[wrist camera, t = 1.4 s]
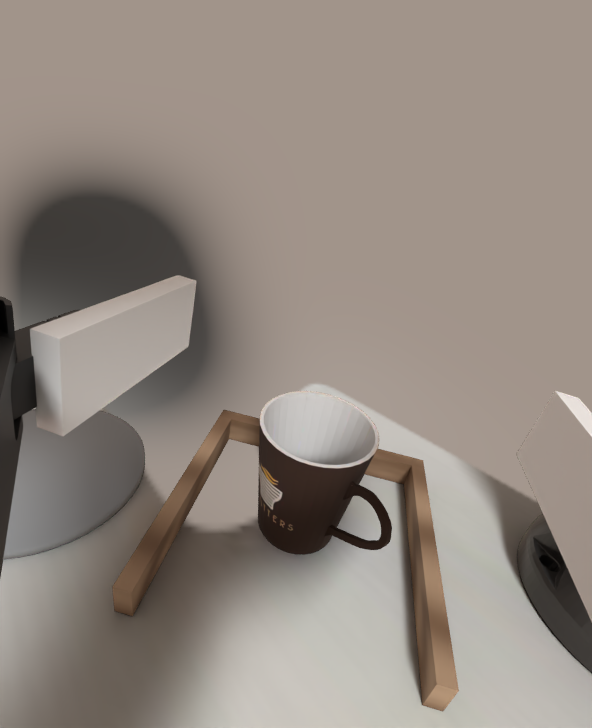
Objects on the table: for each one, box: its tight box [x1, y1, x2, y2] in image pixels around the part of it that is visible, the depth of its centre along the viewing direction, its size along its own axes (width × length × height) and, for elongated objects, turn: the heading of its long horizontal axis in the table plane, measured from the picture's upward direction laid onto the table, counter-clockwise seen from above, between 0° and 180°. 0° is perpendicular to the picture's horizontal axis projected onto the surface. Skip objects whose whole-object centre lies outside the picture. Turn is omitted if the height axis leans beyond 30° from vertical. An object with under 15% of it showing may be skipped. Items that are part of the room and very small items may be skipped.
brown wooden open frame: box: [113, 410, 459, 711], centre depth 31 cm, size 19×20×2 cm
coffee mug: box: [258, 391, 392, 554], centre depth 29 cm, size 12×9×10 cm
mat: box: [3, 409, 145, 559], centre depth 32 cm, size 16×16×1 cm
